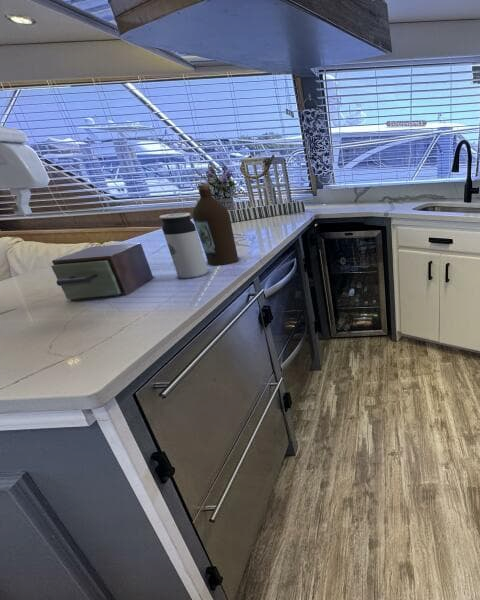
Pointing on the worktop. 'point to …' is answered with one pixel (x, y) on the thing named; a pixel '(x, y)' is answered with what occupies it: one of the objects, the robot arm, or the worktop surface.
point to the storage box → (117, 264)
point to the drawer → (86, 279)
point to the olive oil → (214, 229)
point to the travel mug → (184, 245)
